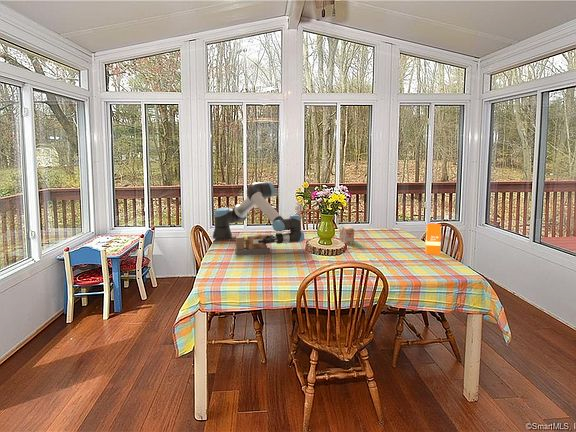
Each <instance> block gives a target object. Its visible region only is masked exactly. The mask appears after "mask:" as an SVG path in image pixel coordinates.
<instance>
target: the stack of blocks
mask: <svg viewBox="0 0 576 432" xmlns="http://www.w3.org/2000/svg"><path fill="white" fill-rule="evenodd" d="M339 240H340V241H341V240H342V241H343V242H344V243H346V245H345V246H355V228H354V227H352V226H351V225H342V227H339ZM342 241H341V242H342ZM343 242H342V243H343ZM344 243H343V244H344Z"/></svg>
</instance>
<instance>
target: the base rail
mask: <svg viewBox="0 0 576 432" xmlns="http://www.w3.org/2000/svg"><path fill="white" fill-rule="evenodd" d="M270 248H271V247H268V245H267V244H266V248H258V249H248V248H247V249H246V246H245V237H244V235H243V236H242V235H241V236H235V248H234V249H235V254H236V255H237V256H244V255H245V256H246V255H257V254H259V255H260V254H270V253H271V249H270Z"/></svg>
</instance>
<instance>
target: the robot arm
mask: <svg viewBox="0 0 576 432" xmlns="http://www.w3.org/2000/svg"><path fill="white" fill-rule="evenodd" d="M275 190H276V189H275V186H274V184H273V183H272V182H271V181H263V182H262V181H260V182H258V181H257V182H252V183H250V184H249V185H248V187H247V188H246V196H247V197H246V199H245V200H243V201H242V202H241V203H240V204H236V205H235V206H234V207H232V208H229V207H225V206H224V207H219V208H217V209H215V210H214V213H213V214H214V215H213V216H214V229H213V233H212V239H213V240H229V239H230V240H231V239H233V233H232V231H231V228H230V225H231V224H235V223H242V222H244V221H246V220H247V217H248V213H249V212H250V211H251V210H252V209H253V208H254V207H258V208H259V210H260V211H261V212H262V213H263V214H264V215H265V217H266V218H267V219H268V220H269V221H270V222H271V223H272V229H273V231H276V233H275V235H273V234H264V235H265V236H266V239H264V238H263V239H256V240H253V244H259V243H265V244H266V245H267V244H273V243H276V244H278V245H280V244H285V245H287V244H292V243H294V244H296V243H303V242H304V241H305V233H304V231H302V229H301V228H302V226H301V225H302V220H301V219H302V218H301V217H302V216H301V214H290V215H289V218H284V217H283V216H281V214H280V213H279V212H278V211H277V210H276V209H275V208H274V207H273V205H272V204H270V202H269V201H267V199H268V198H273V196H275V192H276V191H275ZM288 230H289V231H288ZM285 231H286V232H285Z"/></svg>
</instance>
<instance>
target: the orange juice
mask: <svg viewBox="0 0 576 432" xmlns="http://www.w3.org/2000/svg"><path fill="white" fill-rule="evenodd" d="M441 225H442V224H441V223H427V224H426V231H425V249H424V252H425V253H426V255H440V254H441V239H442V229H441V228H442V227H441Z"/></svg>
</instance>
